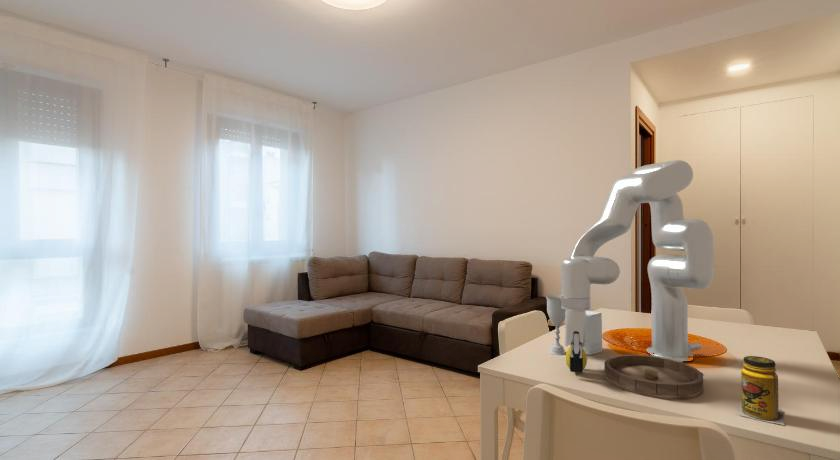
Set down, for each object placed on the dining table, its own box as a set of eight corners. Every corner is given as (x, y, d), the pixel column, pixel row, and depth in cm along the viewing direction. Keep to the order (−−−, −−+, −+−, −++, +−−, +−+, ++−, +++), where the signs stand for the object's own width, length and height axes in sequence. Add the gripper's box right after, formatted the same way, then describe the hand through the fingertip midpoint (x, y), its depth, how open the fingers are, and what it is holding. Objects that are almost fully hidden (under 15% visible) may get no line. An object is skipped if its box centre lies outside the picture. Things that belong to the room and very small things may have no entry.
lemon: (588, 377, 108) (588, 347, 108) (567, 376, 109) (567, 346, 109) (584, 370, 113) (584, 342, 113) (564, 369, 114) (564, 341, 114)
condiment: (738, 415, 86) (738, 359, 85) (739, 402, 92) (739, 350, 92) (784, 426, 81) (784, 367, 81) (782, 411, 87) (782, 356, 87)
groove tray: (657, 364, 117) (657, 352, 117) (726, 395, 95) (726, 381, 95) (588, 369, 114) (588, 357, 114) (643, 402, 92) (643, 387, 92)
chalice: (569, 350, 131) (568, 295, 131) (569, 356, 125) (569, 299, 125) (545, 348, 134) (545, 294, 134) (545, 354, 127) (544, 298, 127)
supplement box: (603, 351, 130) (602, 312, 130) (589, 355, 126) (589, 315, 126) (582, 346, 136) (582, 308, 136) (569, 350, 132) (568, 311, 132)
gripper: (561, 297, 120) (562, 356, 120) (560, 308, 104) (561, 376, 104) (588, 298, 118) (589, 358, 118) (592, 310, 101) (592, 380, 102)
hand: (576, 366), depth 111 cm, fingers open, 7 cm apart
